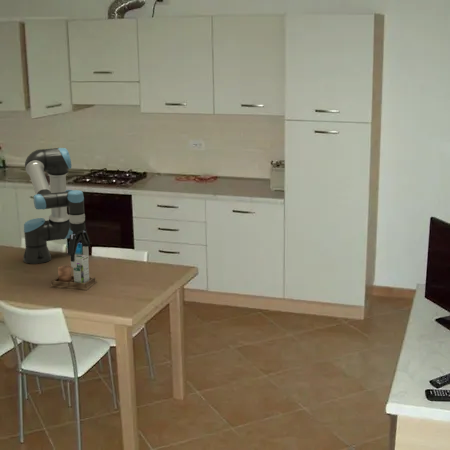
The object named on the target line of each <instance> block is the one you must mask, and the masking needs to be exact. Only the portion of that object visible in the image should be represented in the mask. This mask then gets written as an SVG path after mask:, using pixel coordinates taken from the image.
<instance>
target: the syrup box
mask: <svg viewBox="0 0 450 450" xmlns="http://www.w3.org/2000/svg"><path fill="white" fill-rule="evenodd" d="M75 255H76V261H77V268H74V267H72V268H73V276H74V282H76V283H86V282H88V281H89V277H90V269H89V268H90V265H89V259H88V256H85V255H83V254H75Z"/></svg>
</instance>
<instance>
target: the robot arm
mask: <svg viewBox="0 0 450 450" xmlns="http://www.w3.org/2000/svg"><path fill="white" fill-rule="evenodd" d="M71 169H72V160H71V155H70V152H69V150H68V149H67V148H65V147H57V148H56V147H55V148H43V149H40V148H39V149H36V150H34V151H32V152H31V153H30V154H29V155H28V156H27V157H26V158H25V162H24V170H25V172H26V174H27V175H28V176H29V178H30V182H31V183H32V188H33V190H34V194H35V195H34V196H33V204H34V208H35V210H48V209H50V212H51V213H50V215H49V216H48V220H46V219H45V218H43V217H35V218H32V219H29V220H27V221H25V223H24V224H23V233H24V243H25V244H24V245H25V250H24V253H23V262H24V263H25V262H26V263H25V264H28V263H30V264H29V265H36V264H38V263H39V264H44V263H47V262H49V261H51V260H52V255H51V252H50V250H49V247H48V246H47V245H48V244H47V243H48V242H49V241H51V242H52V241H59V240H60V241H61V240H67V239H69V242H68V248H67V255H68V256H69V257H70V266H71V268H73V267H74V268H77V261H76V255H77V254H76V251H77V247H78V244H79V243H81V244H82V255H85V256H88V260H89V259H90V257H89V255H90V254H89V253H90V252H89V247H90V246H91V241H90V237H89V235H88V231H87V228H86V214H85V197H84V192H83V191H82V190H79V189H67V180H66V179H67V176H66V175H67V174H69V170H71ZM45 172H46V173H45ZM46 174H47V175H49V183H48V180H47V177H46Z"/></svg>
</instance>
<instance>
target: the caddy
mask: <svg viewBox="0 0 450 450" xmlns="http://www.w3.org/2000/svg"><path fill="white" fill-rule="evenodd" d="M57 272H58V274H57V275H58V276H57V277H56V278H55V279H53V280H51V284H50V286H49V288H51V289H63V290H64V289H65V290H75V291H77V290H78V291H88V290H90V289H91V288H92V287H94V286H95V285H96V284H97V283H98V280H96V277H92V276H89V281H88V282H86V283H76V282H74V275H72V267H71V265H61V266H58V268H57Z"/></svg>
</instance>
